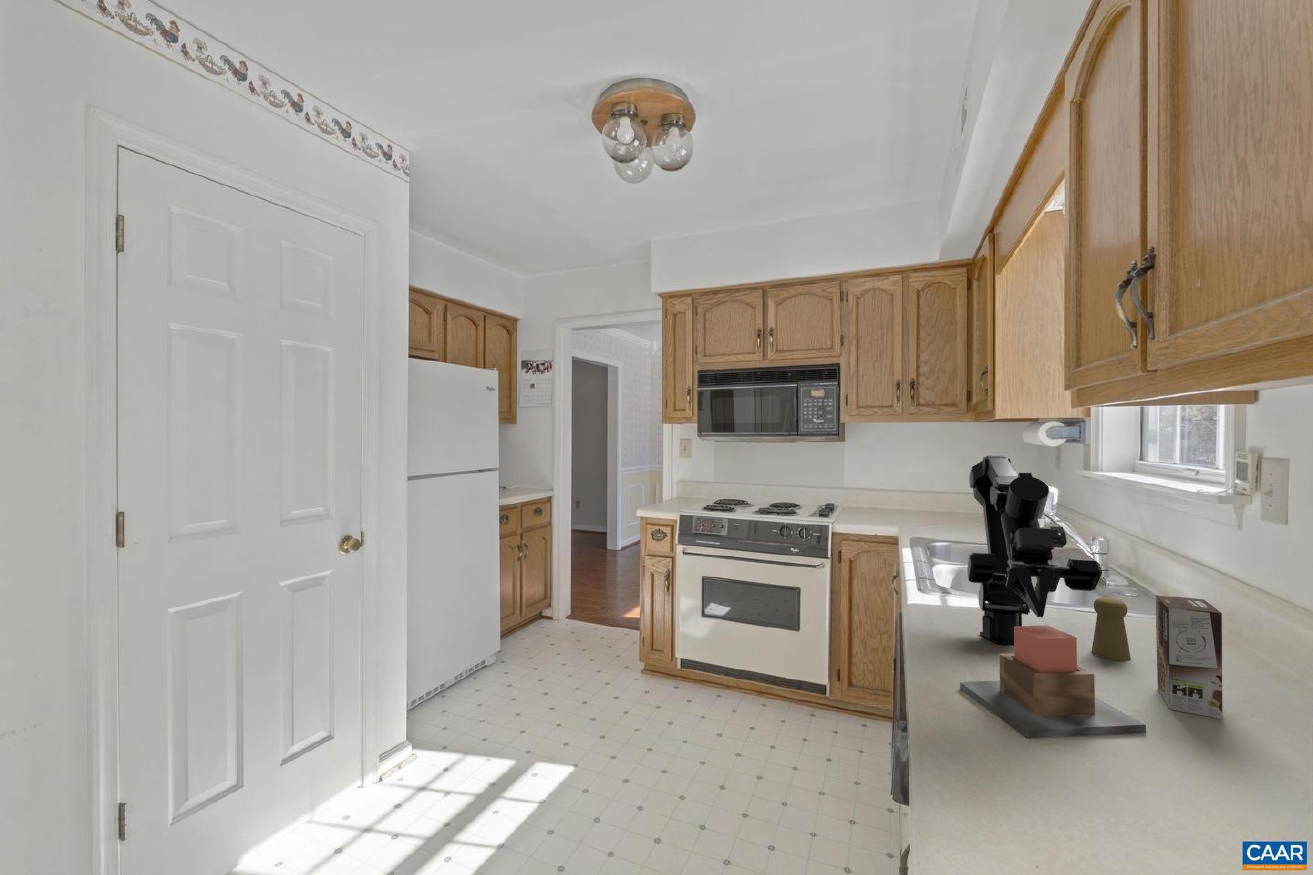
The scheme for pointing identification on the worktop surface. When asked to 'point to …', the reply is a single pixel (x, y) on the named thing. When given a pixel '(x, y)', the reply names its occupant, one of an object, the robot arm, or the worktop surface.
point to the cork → (1110, 630)
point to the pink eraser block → (1045, 649)
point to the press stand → (1049, 702)
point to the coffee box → (1189, 655)
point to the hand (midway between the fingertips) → (1040, 615)
